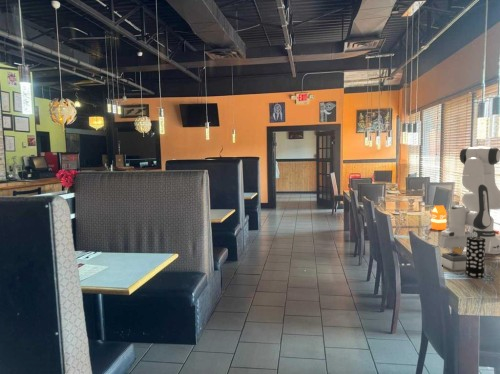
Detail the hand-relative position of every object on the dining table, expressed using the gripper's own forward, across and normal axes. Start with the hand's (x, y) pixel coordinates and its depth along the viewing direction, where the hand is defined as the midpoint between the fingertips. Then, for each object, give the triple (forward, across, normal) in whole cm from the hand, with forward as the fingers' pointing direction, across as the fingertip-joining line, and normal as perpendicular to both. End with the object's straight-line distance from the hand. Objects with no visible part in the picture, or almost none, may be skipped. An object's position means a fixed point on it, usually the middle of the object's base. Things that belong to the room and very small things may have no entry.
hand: (456, 254), depth 229 cm
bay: (+3, +8, +13) cm, 16 cm away
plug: (+3, 0, 0) cm, 3 cm away
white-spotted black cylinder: (+3, +12, +30) cm, 32 cm away
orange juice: (+3, -49, -86) cm, 99 cm away
